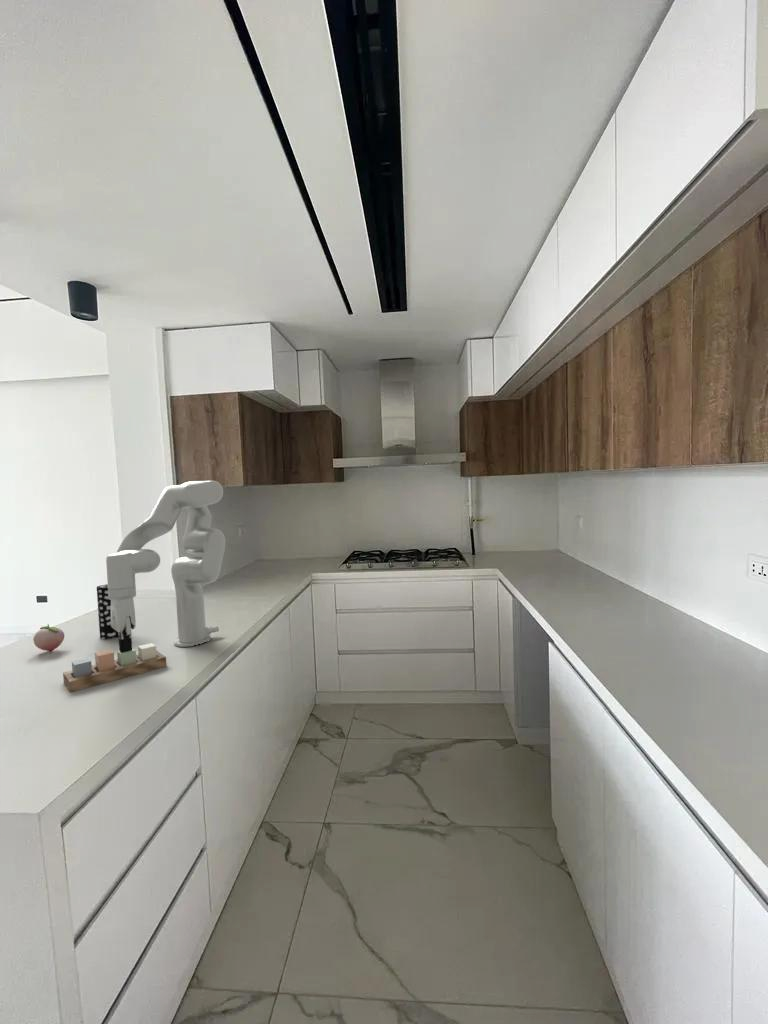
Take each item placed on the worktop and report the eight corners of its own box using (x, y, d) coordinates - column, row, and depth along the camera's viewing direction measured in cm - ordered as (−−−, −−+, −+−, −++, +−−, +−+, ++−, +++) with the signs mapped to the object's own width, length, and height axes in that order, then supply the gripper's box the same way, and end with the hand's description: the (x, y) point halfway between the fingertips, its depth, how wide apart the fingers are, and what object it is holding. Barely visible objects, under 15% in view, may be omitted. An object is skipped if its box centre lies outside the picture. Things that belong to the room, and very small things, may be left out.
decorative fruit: (27, 655, 167) (25, 627, 166) (49, 647, 175) (47, 621, 174) (49, 656, 165) (47, 628, 164) (70, 648, 173) (68, 621, 172)
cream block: (152, 658, 155) (151, 642, 155) (157, 661, 152) (156, 645, 152) (138, 661, 152) (137, 646, 152) (142, 664, 149) (141, 649, 149)
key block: (156, 658, 158) (155, 649, 158) (166, 666, 151) (166, 657, 151) (63, 682, 141) (63, 672, 141) (70, 692, 133) (69, 681, 133)
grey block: (89, 674, 143) (88, 657, 142) (92, 677, 140) (91, 661, 139) (72, 678, 140) (71, 661, 140) (75, 682, 137) (74, 665, 137)
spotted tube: (94, 638, 184) (91, 587, 183) (112, 632, 192) (109, 583, 191) (111, 639, 182) (108, 588, 181) (129, 633, 190) (125, 583, 189)
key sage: (132, 663, 151) (131, 647, 151) (136, 666, 148) (135, 650, 148) (118, 666, 148) (117, 651, 148) (121, 670, 145) (120, 654, 145)
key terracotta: (111, 665, 147) (110, 649, 146) (114, 668, 144) (113, 652, 143) (95, 669, 144) (94, 652, 144) (99, 672, 141) (98, 656, 141)
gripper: (102, 591, 150) (106, 648, 150) (115, 598, 139) (118, 660, 139) (128, 587, 155) (132, 643, 156) (142, 593, 144) (146, 653, 145)
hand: (125, 650), depth 147 cm, fingers closed
